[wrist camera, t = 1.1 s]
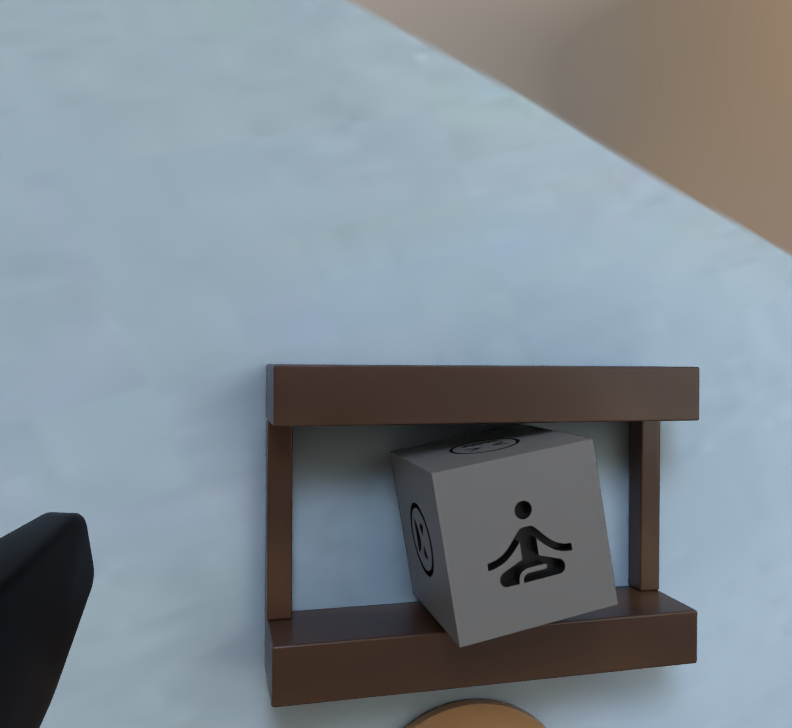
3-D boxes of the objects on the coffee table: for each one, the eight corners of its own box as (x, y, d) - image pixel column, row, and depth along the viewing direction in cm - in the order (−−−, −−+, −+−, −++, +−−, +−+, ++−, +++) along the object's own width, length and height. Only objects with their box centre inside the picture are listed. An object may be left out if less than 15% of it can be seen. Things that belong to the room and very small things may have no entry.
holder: (646, 631, 28) (697, 663, 25) (264, 666, 24) (271, 708, 21) (649, 366, 28) (700, 366, 25) (266, 364, 24) (273, 364, 21)
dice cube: (413, 592, 26) (459, 647, 21) (389, 451, 25) (431, 473, 20) (544, 559, 27) (618, 603, 22) (523, 424, 26) (592, 438, 22)
